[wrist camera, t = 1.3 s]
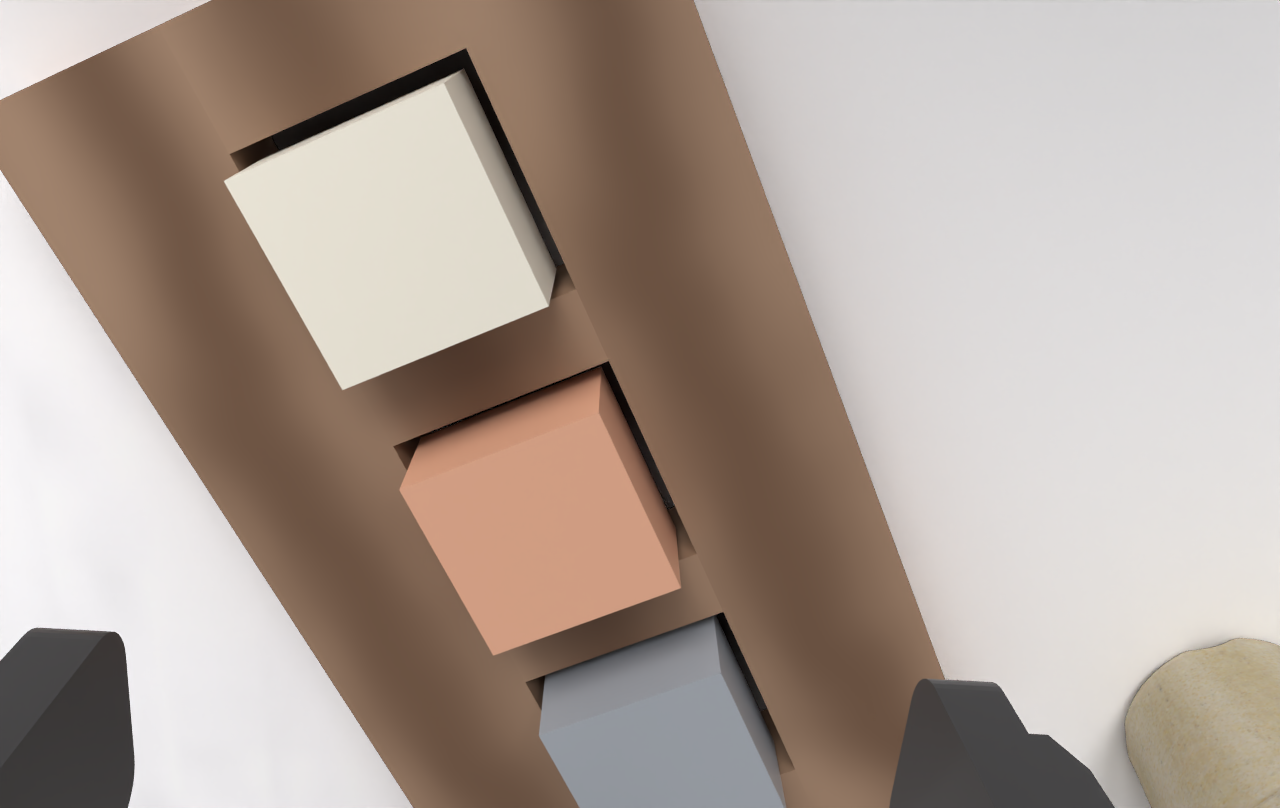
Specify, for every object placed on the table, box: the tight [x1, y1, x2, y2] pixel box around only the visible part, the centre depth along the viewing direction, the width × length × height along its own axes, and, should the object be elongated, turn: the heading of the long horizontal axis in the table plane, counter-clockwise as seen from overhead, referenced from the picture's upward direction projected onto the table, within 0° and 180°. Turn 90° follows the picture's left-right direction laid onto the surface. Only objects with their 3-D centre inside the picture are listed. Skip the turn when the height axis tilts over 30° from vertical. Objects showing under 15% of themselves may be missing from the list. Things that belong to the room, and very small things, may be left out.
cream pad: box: [224, 69, 557, 390], centre depth 25 cm, size 5×5×3 cm
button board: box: [0, 0, 945, 808], centre depth 29 cm, size 16×28×3 cm, turn 23°
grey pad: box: [539, 615, 786, 808], centre depth 31 cm, size 5×5×3 cm
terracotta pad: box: [399, 367, 681, 656], centre depth 28 cm, size 5×5×3 cm
